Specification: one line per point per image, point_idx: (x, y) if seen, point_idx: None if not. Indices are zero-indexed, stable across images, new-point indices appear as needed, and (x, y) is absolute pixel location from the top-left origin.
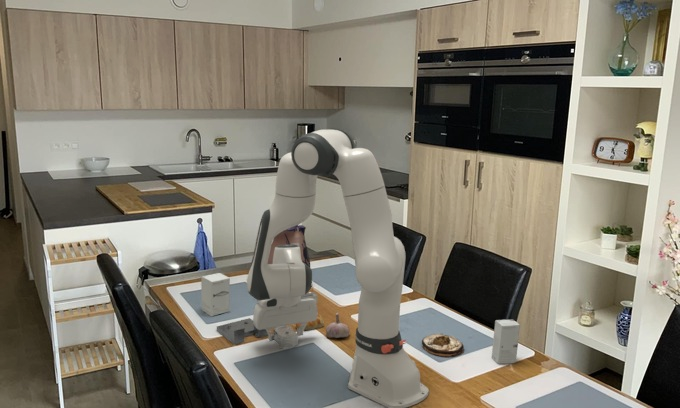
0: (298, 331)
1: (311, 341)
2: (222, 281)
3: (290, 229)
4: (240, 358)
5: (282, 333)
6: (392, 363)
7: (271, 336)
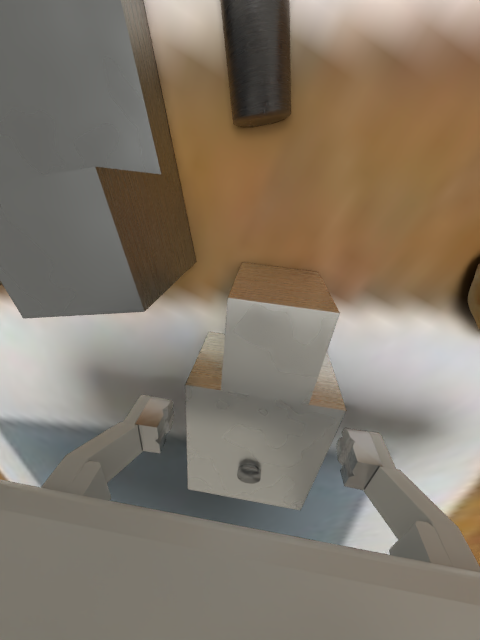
0: (344, 476)
1: (386, 446)
2: None
3: None
4: (15, 408)
5: (220, 460)
6: None
7: (140, 446)
